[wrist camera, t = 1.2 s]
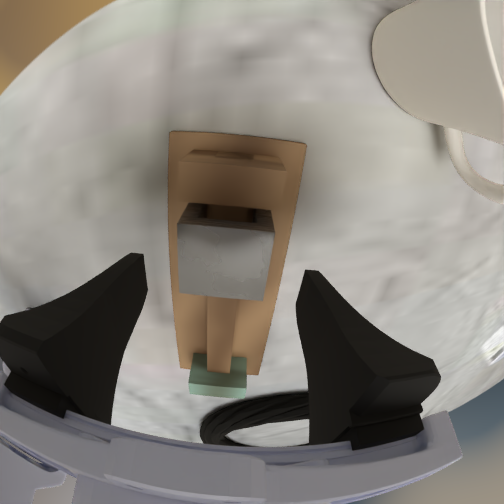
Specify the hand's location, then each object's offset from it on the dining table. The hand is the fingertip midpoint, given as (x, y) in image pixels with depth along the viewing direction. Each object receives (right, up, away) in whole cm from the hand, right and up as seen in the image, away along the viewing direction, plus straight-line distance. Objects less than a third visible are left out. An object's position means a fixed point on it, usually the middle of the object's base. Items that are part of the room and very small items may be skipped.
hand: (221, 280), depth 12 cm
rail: (-1, -1, +9) cm, 9 cm away
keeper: (0, +3, +6) cm, 7 cm away
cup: (+13, +12, +1) cm, 18 cm away
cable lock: (+8, -26, +24) cm, 36 cm away
